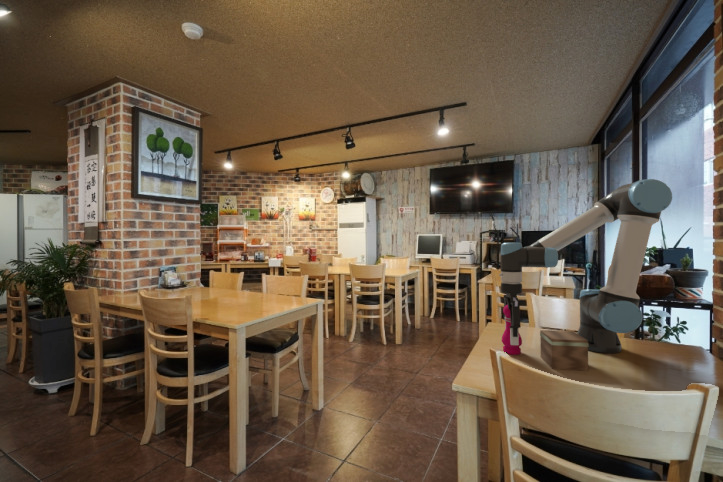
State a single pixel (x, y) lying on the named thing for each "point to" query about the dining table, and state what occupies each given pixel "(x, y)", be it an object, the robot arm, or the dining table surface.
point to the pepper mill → (506, 336)
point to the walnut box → (564, 350)
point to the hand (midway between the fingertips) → (511, 341)
